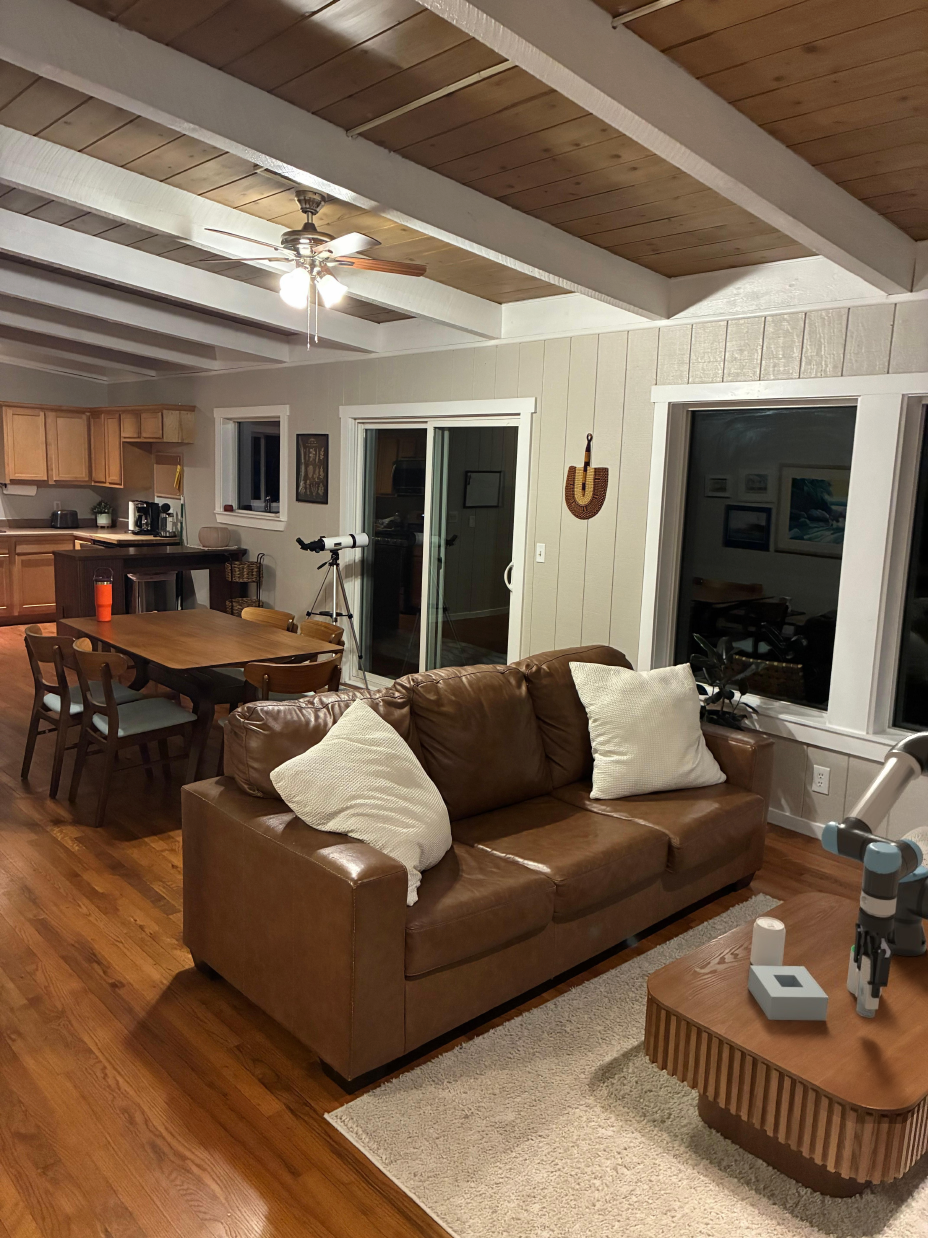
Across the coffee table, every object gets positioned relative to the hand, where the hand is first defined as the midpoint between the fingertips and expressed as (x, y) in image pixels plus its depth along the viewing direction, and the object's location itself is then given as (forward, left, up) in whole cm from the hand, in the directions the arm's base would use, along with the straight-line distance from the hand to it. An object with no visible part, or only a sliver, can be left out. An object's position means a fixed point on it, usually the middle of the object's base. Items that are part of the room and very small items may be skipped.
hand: (866, 1002), depth 214 cm
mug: (-8, -16, -7) cm, 19 cm away
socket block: (+14, -11, -7) cm, 19 cm away
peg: (0, 0, -3) cm, 3 cm away
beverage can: (+12, -29, -7) cm, 32 cm away
